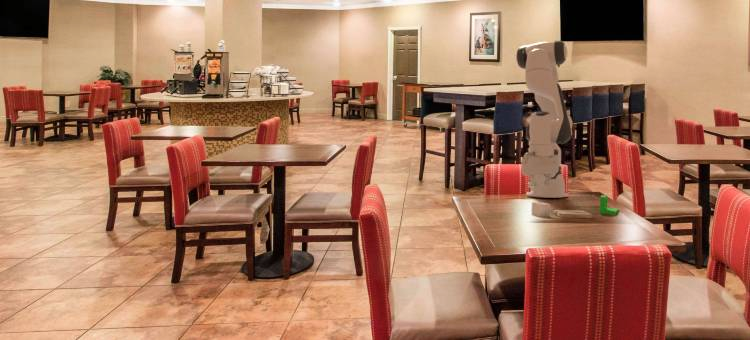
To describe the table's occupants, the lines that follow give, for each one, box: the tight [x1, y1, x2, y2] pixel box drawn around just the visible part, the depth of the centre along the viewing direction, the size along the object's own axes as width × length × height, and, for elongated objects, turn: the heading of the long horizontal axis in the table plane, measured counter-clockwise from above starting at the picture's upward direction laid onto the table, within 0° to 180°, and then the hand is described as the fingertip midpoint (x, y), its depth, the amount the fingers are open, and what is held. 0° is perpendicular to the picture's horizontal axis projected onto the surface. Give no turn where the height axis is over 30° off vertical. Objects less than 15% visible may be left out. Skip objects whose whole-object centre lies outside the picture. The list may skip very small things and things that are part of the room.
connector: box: [531, 201, 555, 218], centre depth 248 cm, size 12×4×5 cm, turn 17°
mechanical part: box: [599, 194, 620, 216], centre depth 258 cm, size 12×6×8 cm, turn 150°
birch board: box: [553, 209, 594, 219], centre depth 250 cm, size 14×12×2 cm
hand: (540, 185), depth 250 cm, fingers open, 7 cm apart
